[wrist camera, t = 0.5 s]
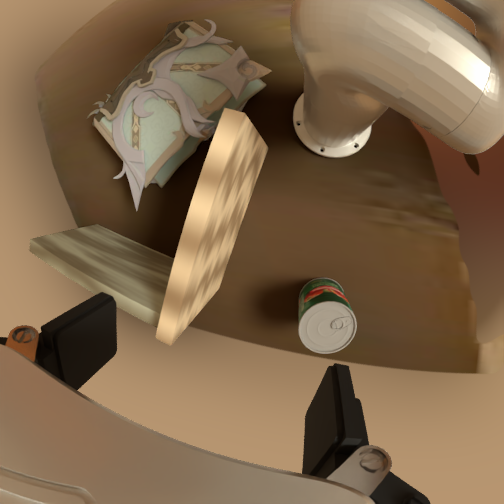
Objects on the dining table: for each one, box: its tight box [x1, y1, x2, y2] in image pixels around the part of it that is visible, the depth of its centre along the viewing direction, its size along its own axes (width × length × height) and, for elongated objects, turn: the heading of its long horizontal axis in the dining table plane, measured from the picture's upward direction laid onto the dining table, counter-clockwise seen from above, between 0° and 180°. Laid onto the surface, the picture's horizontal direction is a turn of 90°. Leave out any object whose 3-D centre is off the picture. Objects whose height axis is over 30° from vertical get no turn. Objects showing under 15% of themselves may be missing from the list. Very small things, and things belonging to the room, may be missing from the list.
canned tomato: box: [298, 277, 357, 354], centre depth 40 cm, size 8×8×11 cm
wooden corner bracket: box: [30, 108, 268, 345], centre depth 37 cm, size 25×28×20 cm
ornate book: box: [87, 19, 272, 211], centre depth 39 cm, size 23×10×30 cm
